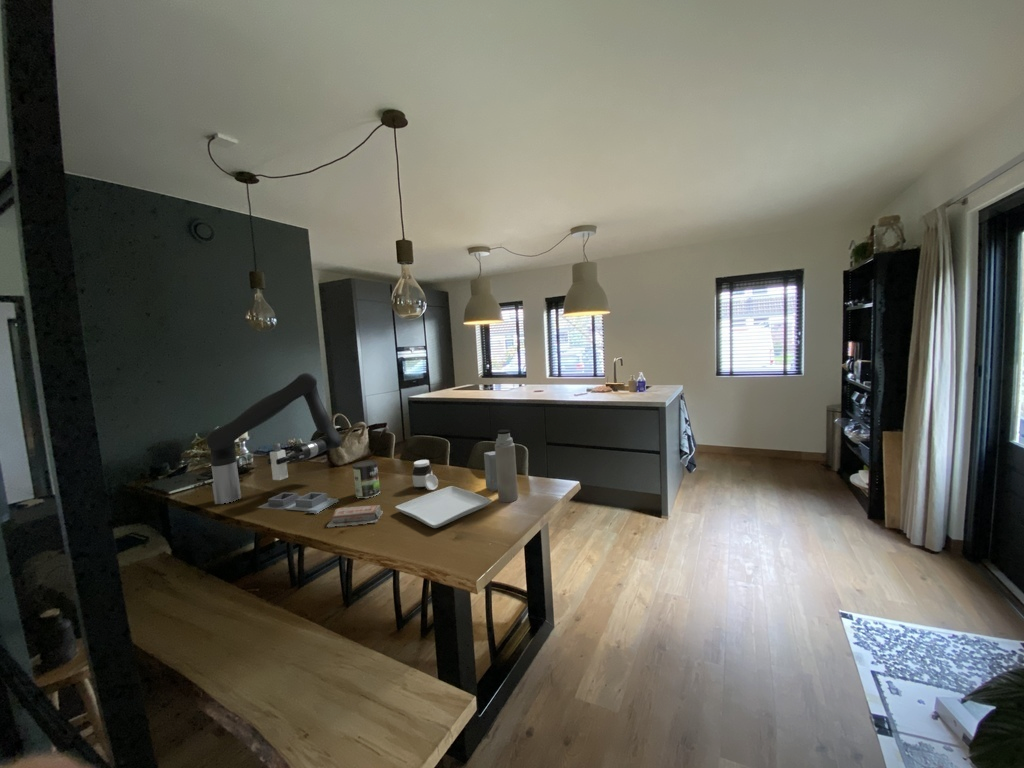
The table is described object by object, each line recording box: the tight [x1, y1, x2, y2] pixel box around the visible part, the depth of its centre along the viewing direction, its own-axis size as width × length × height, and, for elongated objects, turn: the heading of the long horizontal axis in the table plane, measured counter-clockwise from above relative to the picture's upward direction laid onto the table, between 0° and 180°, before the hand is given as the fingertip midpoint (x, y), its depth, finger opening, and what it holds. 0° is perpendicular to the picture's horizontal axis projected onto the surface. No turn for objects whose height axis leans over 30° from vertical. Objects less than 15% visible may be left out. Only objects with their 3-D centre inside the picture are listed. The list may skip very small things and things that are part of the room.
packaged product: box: [326, 504, 384, 528], centre depth 152 cm, size 18×5×10 cm
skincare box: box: [483, 450, 498, 493], centre depth 176 cm, size 8×7×16 cm
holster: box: [256, 492, 303, 510], centre depth 174 cm, size 14×14×4 cm
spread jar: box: [411, 459, 439, 491], centre depth 182 cm, size 12×11×12 cm
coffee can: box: [352, 459, 381, 499], centre depth 178 cm, size 10×10×14 cm
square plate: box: [394, 485, 493, 529], centre depth 155 cm, size 27×27×4 cm
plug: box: [269, 442, 289, 481], centre depth 172 cm, size 4×4×15 cm
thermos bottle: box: [494, 429, 519, 503], centre depth 162 cm, size 8×8×28 cm
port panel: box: [284, 491, 339, 515], centre depth 168 cm, size 16×12×4 cm
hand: (272, 462), depth 169 cm, fingers closed on plug, 4 cm apart
